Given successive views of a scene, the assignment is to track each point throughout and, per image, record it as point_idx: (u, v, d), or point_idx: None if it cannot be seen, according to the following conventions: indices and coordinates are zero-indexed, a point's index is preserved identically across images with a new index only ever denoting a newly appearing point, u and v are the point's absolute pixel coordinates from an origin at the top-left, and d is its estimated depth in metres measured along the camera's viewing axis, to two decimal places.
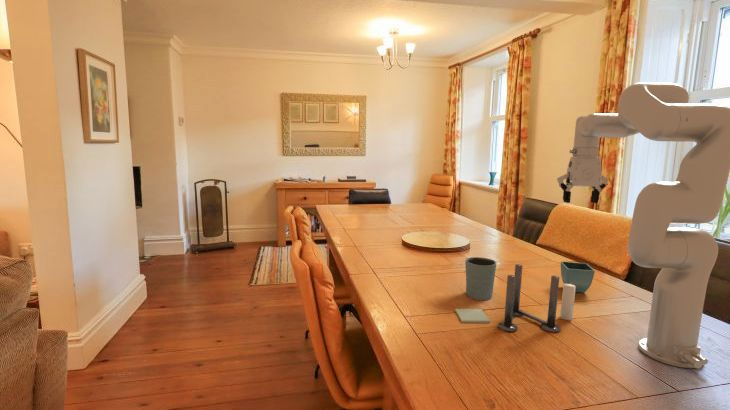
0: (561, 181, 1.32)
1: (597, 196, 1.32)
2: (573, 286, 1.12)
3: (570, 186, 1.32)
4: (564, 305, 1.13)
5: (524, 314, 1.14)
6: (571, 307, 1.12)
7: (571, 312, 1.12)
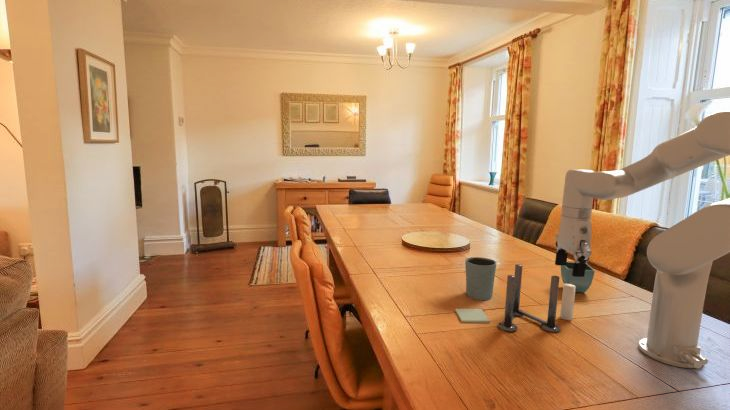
0: None
1: None
2: (573, 286, 1.12)
3: None
4: (564, 305, 1.13)
5: (524, 314, 1.14)
6: (571, 307, 1.12)
7: (571, 312, 1.12)
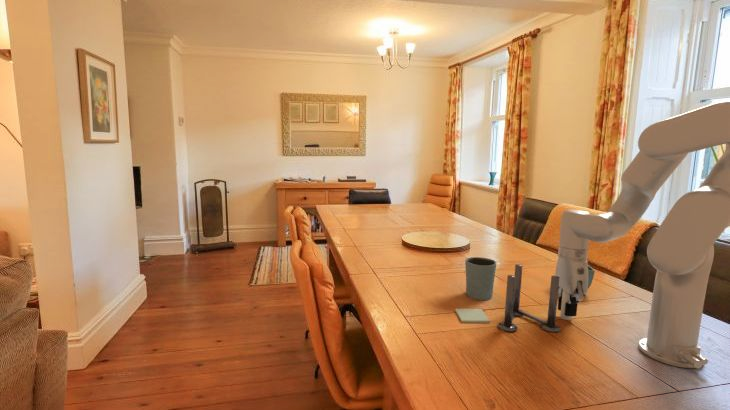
0: None
1: None
2: None
3: None
4: (564, 305, 1.13)
5: (524, 314, 1.14)
6: None
7: None
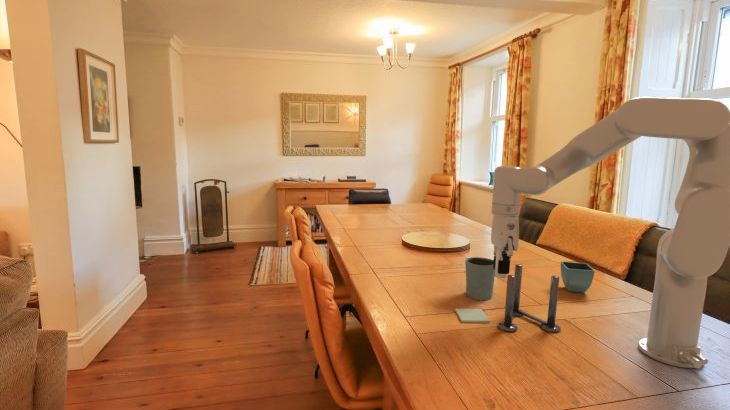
0: None
1: None
2: None
3: None
4: (497, 263, 1.12)
5: (524, 314, 1.14)
6: None
7: None
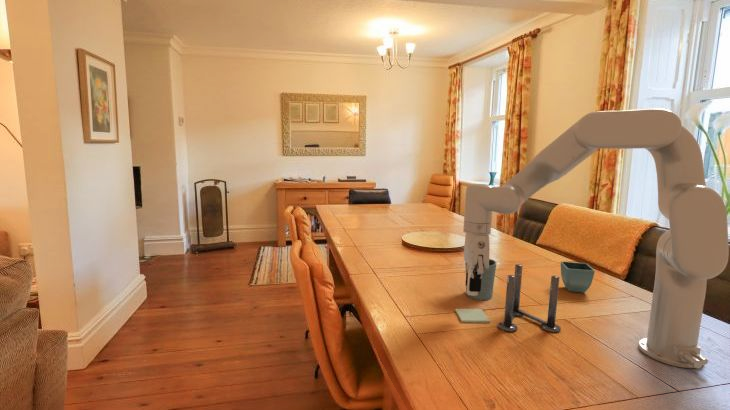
0: None
1: None
2: None
3: None
4: (469, 280, 1.12)
5: (524, 314, 1.14)
6: None
7: None
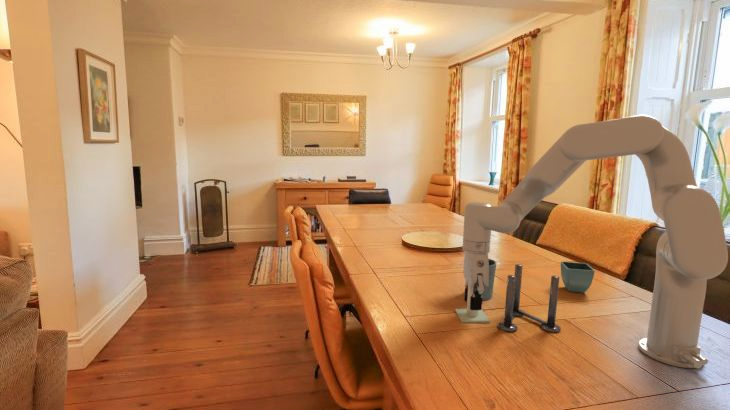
0: None
1: None
2: None
3: None
4: (468, 301, 1.12)
5: (524, 314, 1.14)
6: None
7: None
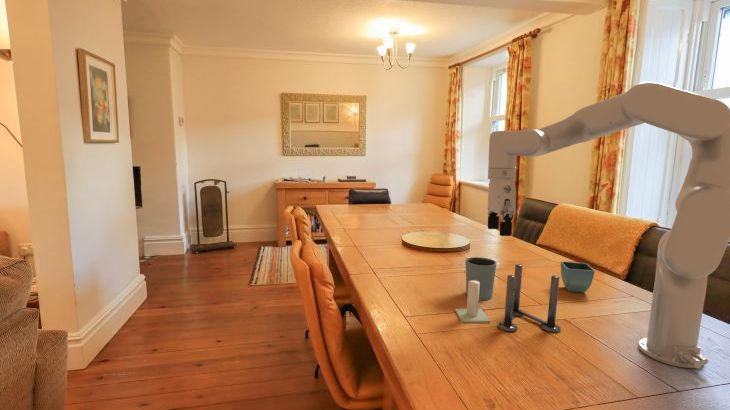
0: None
1: None
2: (477, 283, 1.12)
3: None
4: (468, 301, 1.13)
5: (524, 314, 1.14)
6: (475, 304, 1.12)
7: (475, 309, 1.12)
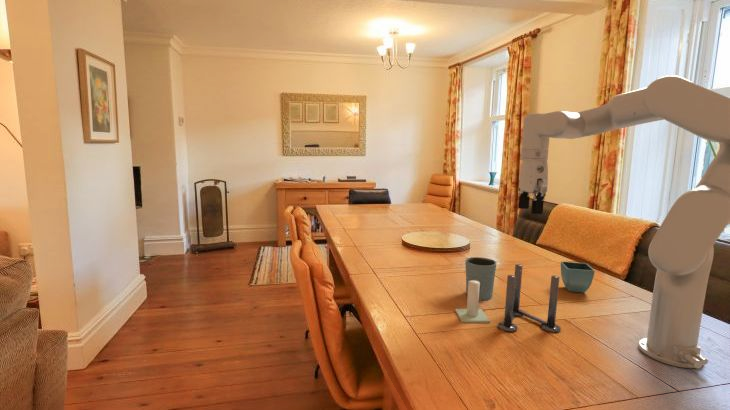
0: None
1: None
2: (477, 283, 1.12)
3: None
4: (468, 301, 1.13)
5: (524, 314, 1.14)
6: (475, 304, 1.12)
7: (475, 309, 1.12)
